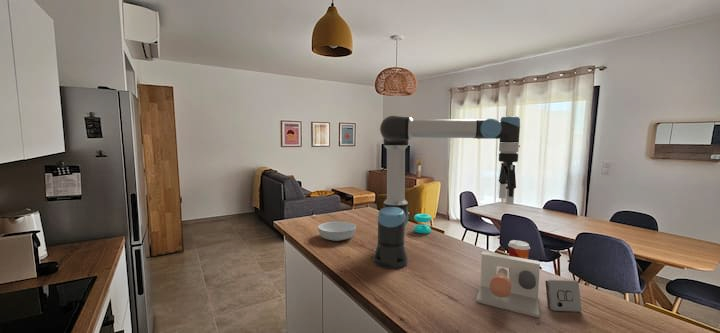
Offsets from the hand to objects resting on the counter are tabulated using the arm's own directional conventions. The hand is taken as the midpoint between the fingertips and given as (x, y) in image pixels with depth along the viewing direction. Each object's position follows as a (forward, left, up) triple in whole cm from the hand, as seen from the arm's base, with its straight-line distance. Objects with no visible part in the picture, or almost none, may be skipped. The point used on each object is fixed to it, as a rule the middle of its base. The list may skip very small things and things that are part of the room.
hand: (505, 201), depth 130 cm
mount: (-5, -34, -28) cm, 44 cm away
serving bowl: (-82, +12, -28) cm, 87 cm away
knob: (-8, -36, -23) cm, 43 cm away
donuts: (-37, +37, -28) cm, 59 cm away
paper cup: (+2, -14, -28) cm, 31 cm away
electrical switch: (+10, -34, -28) cm, 46 cm away
